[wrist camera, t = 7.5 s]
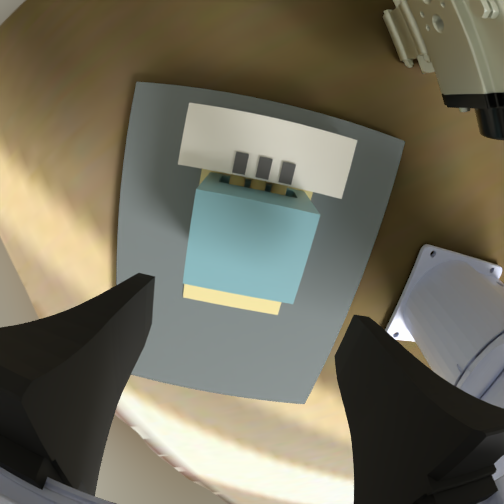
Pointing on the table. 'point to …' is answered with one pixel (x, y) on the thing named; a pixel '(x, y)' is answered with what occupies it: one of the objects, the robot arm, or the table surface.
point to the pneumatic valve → (456, 52)
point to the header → (266, 151)
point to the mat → (228, 304)
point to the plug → (249, 239)
